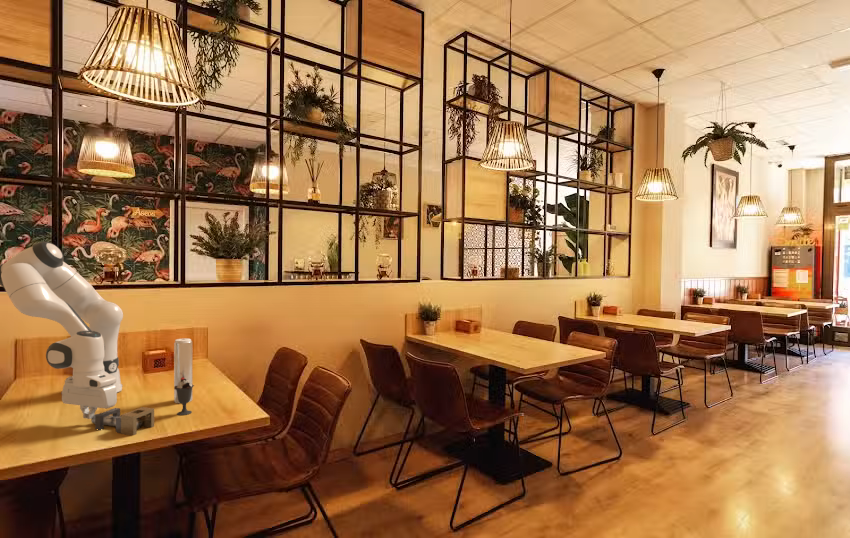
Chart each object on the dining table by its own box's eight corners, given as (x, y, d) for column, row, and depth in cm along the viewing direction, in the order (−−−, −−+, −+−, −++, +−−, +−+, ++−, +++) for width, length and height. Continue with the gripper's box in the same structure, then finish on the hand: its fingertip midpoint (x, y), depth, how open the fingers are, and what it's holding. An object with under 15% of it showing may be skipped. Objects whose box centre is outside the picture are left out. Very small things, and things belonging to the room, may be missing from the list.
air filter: (184, 404, 183) (184, 341, 182) (170, 402, 184) (170, 340, 183) (196, 399, 189) (196, 338, 188) (182, 397, 190) (182, 337, 190)
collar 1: (95, 429, 155) (95, 415, 155) (115, 422, 162) (115, 407, 162) (100, 430, 154) (100, 415, 154) (120, 422, 162) (120, 408, 162)
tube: (89, 422, 159) (94, 412, 160) (96, 424, 161) (101, 415, 163) (132, 427, 154) (136, 417, 156) (139, 430, 157) (143, 420, 159)
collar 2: (115, 432, 153) (115, 417, 153) (135, 424, 160) (135, 410, 160) (120, 433, 152) (120, 418, 152) (140, 425, 160) (140, 410, 160)
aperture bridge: (120, 433, 152) (120, 415, 152) (142, 424, 160) (142, 407, 160) (133, 435, 151) (133, 416, 151) (154, 426, 159) (154, 408, 159)
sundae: (178, 410, 175) (178, 371, 175) (197, 410, 176) (197, 371, 175) (170, 416, 169) (170, 375, 168) (189, 416, 169) (189, 375, 169)
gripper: (56, 378, 159) (56, 417, 159) (103, 383, 154) (103, 424, 154) (74, 373, 165) (74, 412, 166) (120, 378, 160) (120, 418, 160)
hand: (88, 418), depth 160 cm, fingers closed
